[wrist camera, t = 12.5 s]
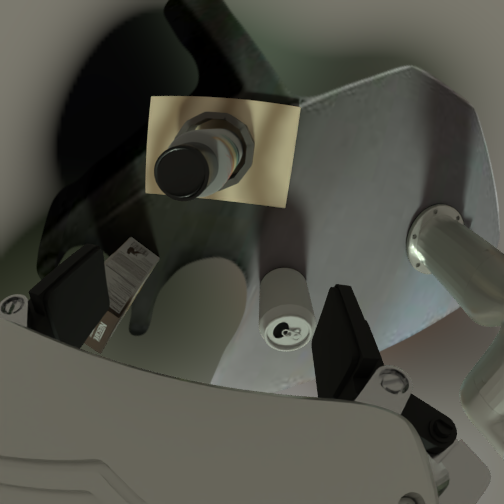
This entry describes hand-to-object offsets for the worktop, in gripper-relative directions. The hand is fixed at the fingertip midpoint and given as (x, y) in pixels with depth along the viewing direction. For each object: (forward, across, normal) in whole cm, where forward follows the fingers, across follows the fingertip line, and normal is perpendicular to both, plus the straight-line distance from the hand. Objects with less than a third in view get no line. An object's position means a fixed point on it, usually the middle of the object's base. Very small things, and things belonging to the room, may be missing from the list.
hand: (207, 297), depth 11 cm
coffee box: (+29, +18, +17) cm, 38 cm away
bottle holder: (+29, +5, -3) cm, 30 cm away
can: (+30, -7, +17) cm, 35 cm away
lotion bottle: (+28, +4, -3) cm, 29 cm away
